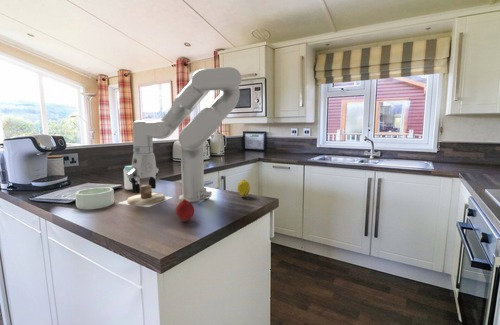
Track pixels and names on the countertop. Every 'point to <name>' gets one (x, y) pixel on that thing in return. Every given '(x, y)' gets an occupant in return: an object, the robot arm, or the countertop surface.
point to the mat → (145, 205)
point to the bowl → (94, 198)
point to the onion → (185, 210)
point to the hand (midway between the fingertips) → (144, 190)
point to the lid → (145, 197)
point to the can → (126, 180)
